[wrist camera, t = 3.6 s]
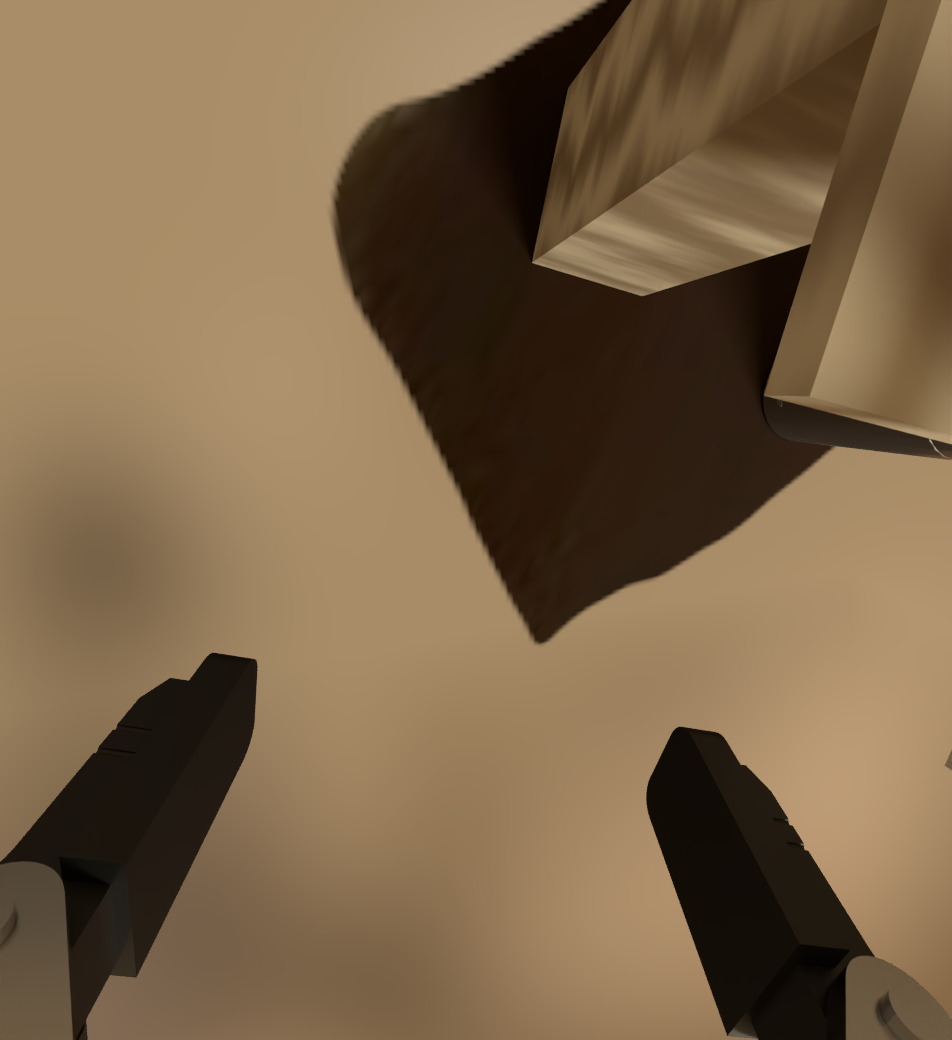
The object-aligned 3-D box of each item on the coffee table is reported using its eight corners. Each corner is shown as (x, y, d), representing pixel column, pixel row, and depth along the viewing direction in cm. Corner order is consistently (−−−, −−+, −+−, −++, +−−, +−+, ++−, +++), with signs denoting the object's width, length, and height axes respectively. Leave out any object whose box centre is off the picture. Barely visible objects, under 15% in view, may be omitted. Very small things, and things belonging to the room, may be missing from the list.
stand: (555, 82, 36) (1265, -974, 8) (693, 140, 40) (1539, -471, 11) (493, 389, 41) (810, 396, 13) (621, 418, 44) (1100, 474, 16)
